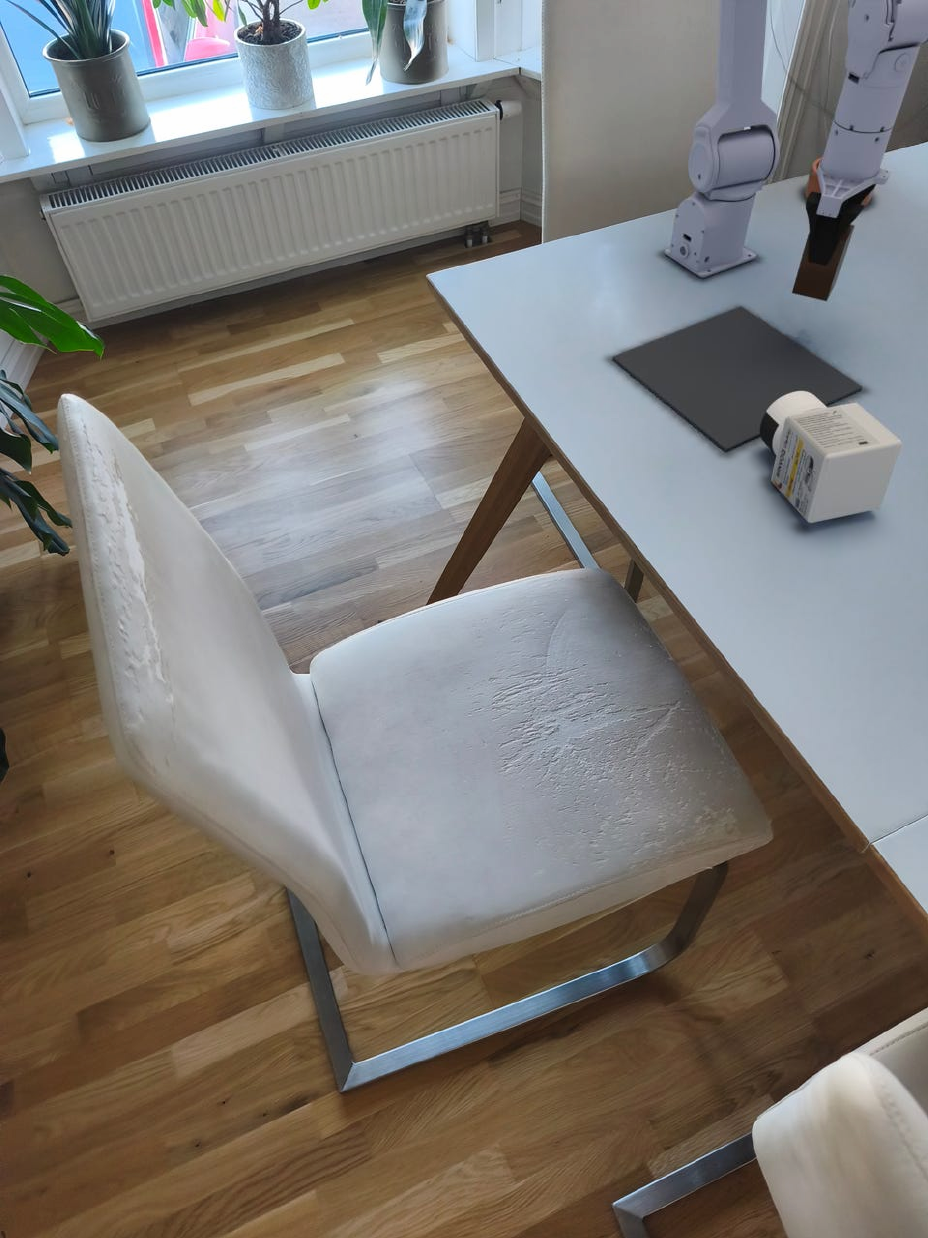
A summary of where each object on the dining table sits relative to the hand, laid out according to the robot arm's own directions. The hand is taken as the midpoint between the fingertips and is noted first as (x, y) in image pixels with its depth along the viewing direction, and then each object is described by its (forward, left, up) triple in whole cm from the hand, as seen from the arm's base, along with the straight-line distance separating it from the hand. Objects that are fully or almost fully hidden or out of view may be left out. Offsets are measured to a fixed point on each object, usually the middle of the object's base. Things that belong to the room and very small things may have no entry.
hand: (823, 253), depth 95 cm
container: (-19, -26, -6) cm, 33 cm away
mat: (-12, -2, -10) cm, 16 cm away
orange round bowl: (+30, +23, -10) cm, 40 cm away
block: (0, 0, -4) cm, 4 cm away
